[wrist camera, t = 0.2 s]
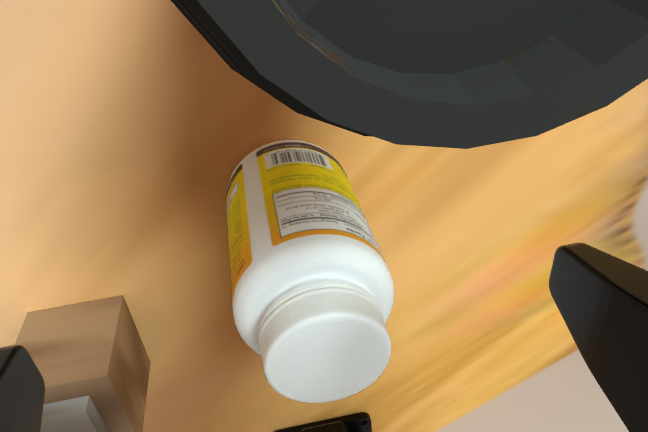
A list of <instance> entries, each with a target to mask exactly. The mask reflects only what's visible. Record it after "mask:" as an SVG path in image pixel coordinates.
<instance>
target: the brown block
mask: <svg viewBox="0 0 648 432" xmlns="http://www.w3.org/2000/svg"><path fill="white" fill-rule="evenodd" d="M15 345H22V346H23V347H25V348H26V350H27V351H28V353H29V354H30V356H31V358H32V359H33V361H34V363H35V364H36V366H37V368H38V370H39V371H40V373H41V375H42V377H43V379H44V383H45V397H44V406H43V414H42V423H41V432H142V429H143V420H144V412H145V403H146V394H147V386H148V377H149V369H150V360H149V358H148V355H147V353H146V350H145V348H144V346H143V343H142V341H141V338H140V336H139V333H138V331H137V329H136V326H135V324H134V321H133V319H132V316H131V314H130V312H129V309H128V307H127V304H126V302H125V300H124V297H123V295H121V296H116V297H110V298H105V299H99V300H94V301H88V302H82V303H77V304H71V305H66V306H60V307H55V308H49V309H44V310H38V311H32V312H28V313H27V316H26V318H25V321H24V323H23V326H22V328H21V331H20V333H19V336H18V338H17V341H16V343H15Z"/></svg>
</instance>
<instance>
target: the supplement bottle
mask: <svg viewBox="0 0 648 432" xmlns="http://www.w3.org/2000/svg"><path fill="white" fill-rule="evenodd" d="M226 208H227V225H228V241H229V255H230V272H231V289H232V307H233V315H234V321H235V325H236V328H237V330H238V332H239V334H240V336H241V337H242V339H243V340H244V341H245V343H246V344H247V345H248V346H249V347H250V348H251V349H252V350H254V351H255V352H256V353H258V354H259V355H261V356H262V360H263V368H264V373H265V376H266V379H267V380H268V382H269V384H270V385H271V386H272V388H273V389H274V390H276V391H277V392H278V393H279V394H281V395H283V396H285V397H287V398H289V399H292V400H295V401H300V402H306V403H323V402H331V401H336V400H340V399H343V398H346V397H349V396H351V395H354V394H356V393H358V392H360V391H362V390H363V389H365V388H366V387H368V386H369V385H371V384H372V383H373V382H374V381H375V380H376V379H377V378H378V377H379V376H380V375H381V374H382V373H383V371H384V370H385V368H386V366H387V364H388V362H389V359H390V356H391V342H390V337H389V334H388V331H387V329H386V326H385V323H386V321H387V319H388V317H389V315H390V312H391V309H392V306H393V299H394V288H393V281H392V278H391V274H390V272H389V269H388V266H387V264H386V262H385V260H384V258H383V256H382V254H381V251H380V249H379V247H378V245H377V243H376V240H375V238H374V236H373V234H372V231H371V229H370V227H369V225H368V223H367V221H366V218H365V216H364V214H363V212H362V209H361V207H360V205H359V203H358V201H357V199H356V196H355V194H354V192H353V190H352V187H351V185H350V183H349V181H348V178H347V176H346V174H345V172H344V170H343V168H342V167H341V165H340V163H339V162H338V161H337V160H336V159H335V158H334V157H333V156H332V155H331V154H330V153H329V152H328V151H326V150H325V149H323V148H321V147H319V146H317V145H315V144H313V143H309V142H306V141H301V140H281V141H275V142H272V143H268V144H266V145H263V146H261V147H259V148H257V149H255V150H254V151H252V152H251V153H249V154H248V155H247V156H246V157H245V158H244V159H243V160H242V161H241V162H240V163H239V164H238V165H237V167H236V168H235V170H234V171H233V173H232V175H231V177H230V180H229V183H228V187H227V192H226Z"/></svg>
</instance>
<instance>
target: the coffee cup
mask: <svg viewBox="0 0 648 432" xmlns="http://www.w3.org/2000/svg"><path fill="white" fill-rule="evenodd" d="M171 1H172V2H173V3H174V4H175V6H176V7H177V8H178V9H179V10H180V11H181V12H182V13H183V15H184V16H185V17H186V18H187V19H188V20H189V21H190V22H191V24H192V25H193V26H194V27H195V28H196V29H197V30H198V31H199V33H200V34H201V35H202V36H203V37H204V38H205V39H206V40H207V42H208V43H209V44H210V45H211V46H212V47H213V48H214V49H215V51H216V52H217V53H218V54H219V55H220V56H221V57H222V59H223V60H224V61H225V62H226V63H227V64H228V65H229V66H230V68H231V69H233V70H234V71H236V72H237V73H239V74H240V75H242V76H243V77H245V78H246V79H248V80H249V81H251V82H252V83H254V84H255V85H257V86H258V87H260V88H261V89H262V90H264V91H265V92H267V93H268V94H270V95H271V96H273V97H274V98H276V99H277V100H279V101H280V102H282V103H283V104H285V105H286V106H288V107H289V108H291V109H292V110H294V111H295V112H297V113H299V114H302V115H305V116H308V117H311V118H314V119H317V120H320V121H323V122H325V123H328V124H331V125H334V126H337V127H340V128H343V129H346V130H349V131H352V132H355V133H358V134H361V135H363V136H374V137H377V138H380V139H383V140H386V141H388V142H391V143H394V144H401V145H416V146H432V147H448V148H463V149H468V148H473V147H478V146H484V145H489V144H495V143H500V142H505V141H511V140H516V139H522V138H527V137H532V136H537V135H540V134H542V133H544V132H547V131H549V130H551V129H554V128H556V127H558V126H561V125H563V124H565V123H568V122H570V121H573V120H575V119H577V118H580V117H582V116H584V115H587V114H589V113H591V112H594V111H596V110H598V109H601V108H603V107H605V106H608V105H609V104H610V103H612V102H613V101H615V100H616V99H618V98H619V97H621V96H622V95H624V94H625V93H627V92H628V91H630V90H631V89H633V88H634V87H636V86H637V85H639V84H640V83H642V82H643V81H645V80H646V79H648V0H171Z"/></svg>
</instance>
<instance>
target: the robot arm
mask: <svg viewBox="0 0 648 432" xmlns="http://www.w3.org/2000/svg"><path fill="white" fill-rule="evenodd" d="M549 289H550V292H551V295H552V297H553V299H554V301H555V303H556V305H557V307H558V309H559V311H560V313H561V315H562V317H563V319H564V321H565V323H566V325H567V327H568V329H569V331H570V333H571V335H572V337H573V339H574V341H575V343H576V345H577V347H578V349H579V351H580V353H581V355H582V357H583V358H584V360H585V362H586V364H587V366H588V368H589V369H590V371H591V373H592V374H593V376H594V378H595V379H596V381H597V382H598V384H599V385H600V387H601V389H602V390H603V392H604V393H605V395H606V396H607V398H608V399H609V401H610V402H611V404H612V405H613V407H614V409H615V410H616V412H617V413H618V415H619V416H620V418H621V420H622V421H623V423H624V424H625V426H626V427H627V429H628V430H629V432H648V271H646V270H644V269H642V268H640V267H637V266H635V265H633V264H630V263H628V262H626V261H623V260H621V259H619V258H617V257H614V256H612V255H610V254H607V253H605V252H603V251H601V250H598V249H596V248H594V247H591V246H589V245H587V244H584V243H574V244H568V245H563V246H560V247H558V249H557V250H556V252H555V256H554V260H553V265H552V269H551V274H550V278H549ZM44 397H45V383H44V379H43V377H42V375H41V373H40V371H39V370H38V368H37V366H36V364H35V363H34V361H33V359H32V358H31V356H30V354H29V353H28V351H27V350H26V348H25V347H23V346H22V345H13V346H7V347H2V348H0V432H41V423H42V414H43V406H44ZM276 432H372V428H371V419H370V416H369V414H368V413H360V414H355V415H350V416H346V417H341V418H336V419H332V420H327V421H322V422H317V423H313V424H308V425H303V426H298V427H294V428H289V429H284V430H280V431H276Z"/></svg>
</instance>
